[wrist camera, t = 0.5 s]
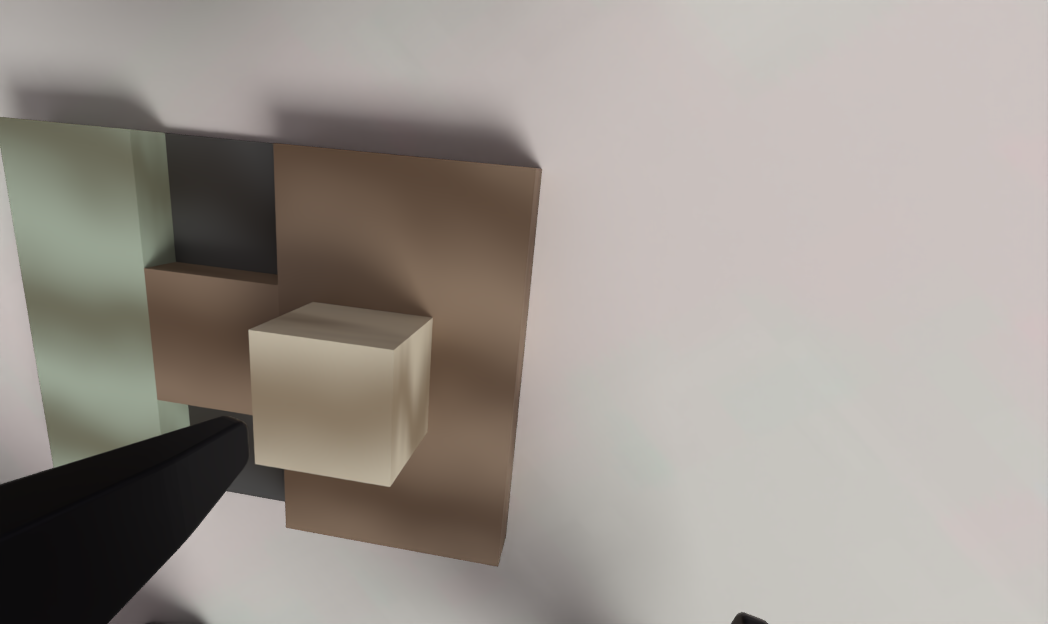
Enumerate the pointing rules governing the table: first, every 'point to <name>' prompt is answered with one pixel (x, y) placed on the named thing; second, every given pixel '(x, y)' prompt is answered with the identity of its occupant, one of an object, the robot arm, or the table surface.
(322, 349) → the birch block
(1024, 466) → the table surface
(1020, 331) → the table surface
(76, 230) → the trap deck
